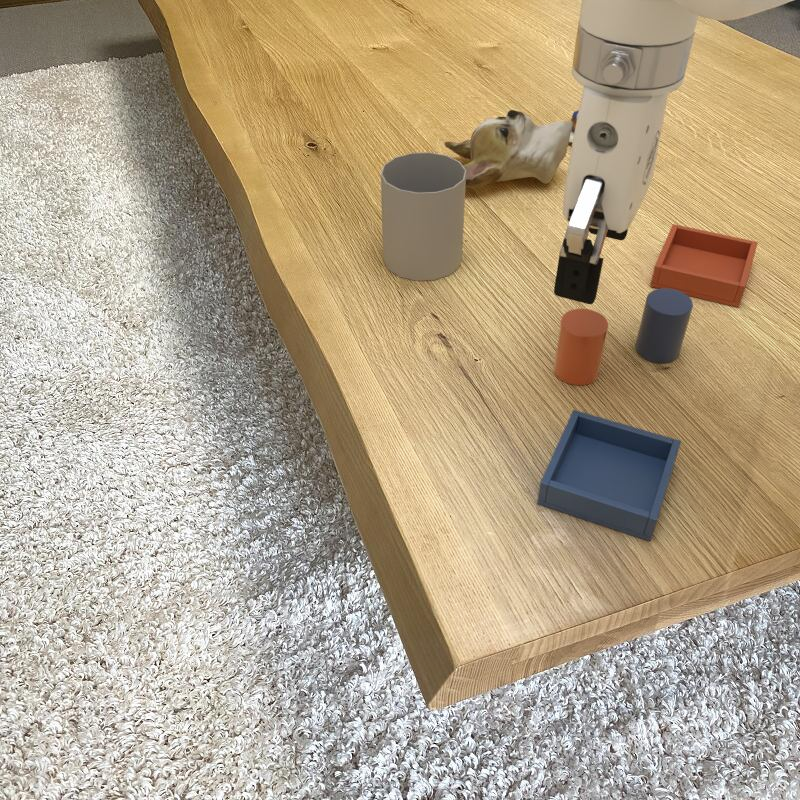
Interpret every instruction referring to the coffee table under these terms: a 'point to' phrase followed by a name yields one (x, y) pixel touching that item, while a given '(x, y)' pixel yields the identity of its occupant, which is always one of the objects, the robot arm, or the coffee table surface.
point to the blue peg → (663, 325)
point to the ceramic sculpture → (513, 149)
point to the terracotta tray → (704, 265)
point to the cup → (423, 215)
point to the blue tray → (609, 474)
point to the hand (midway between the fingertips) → (591, 265)
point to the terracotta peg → (580, 346)
